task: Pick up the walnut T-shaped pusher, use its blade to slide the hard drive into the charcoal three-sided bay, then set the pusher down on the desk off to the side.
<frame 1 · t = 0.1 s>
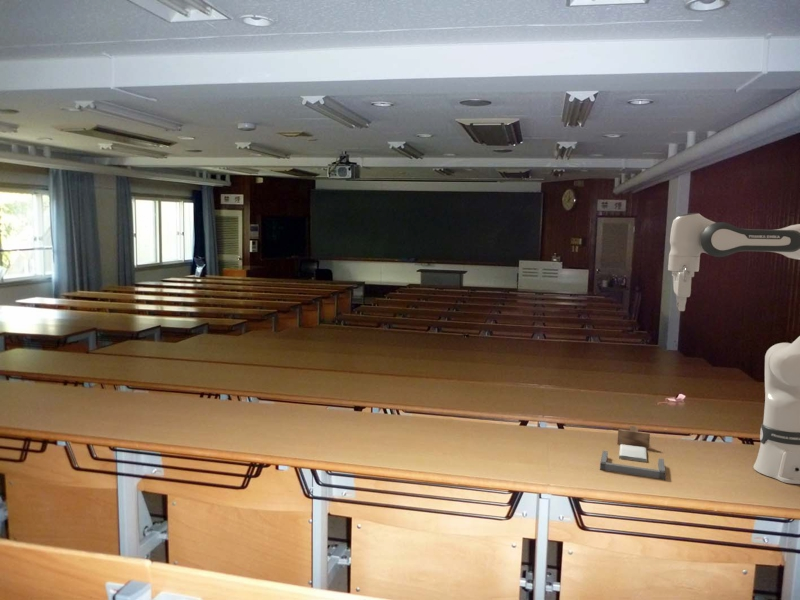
hand: (680, 309, 193), 48 cm above the table, tool pointing down, fingers open, 8 cm apart
pusher: (633, 442, 211), on the table
bay: (632, 467, 188), on the table
hard drive: (632, 456, 200), on the table
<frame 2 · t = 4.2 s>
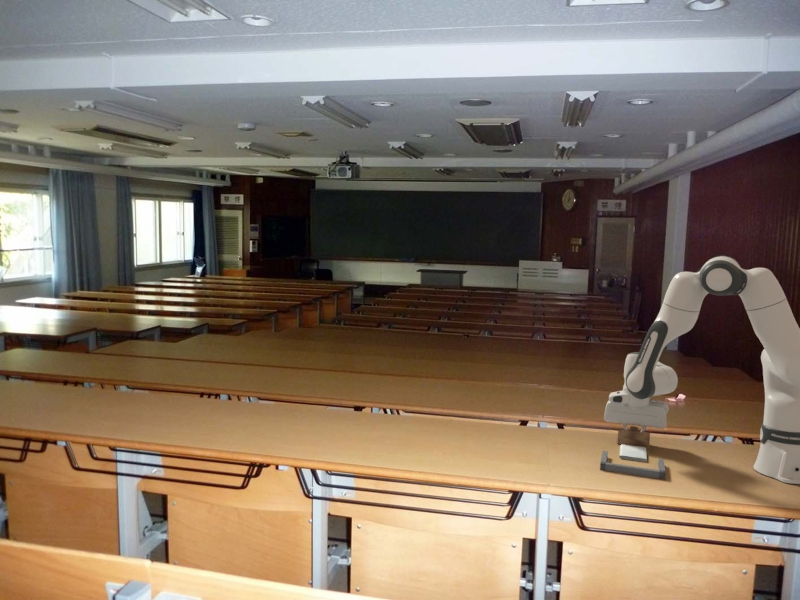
hand: (633, 437, 213), 2 cm above the table, tool pointing down, fingers closed on pusher, 2 cm apart
pusher: (633, 442, 211), on the table, touching gripper
everything else where it was.
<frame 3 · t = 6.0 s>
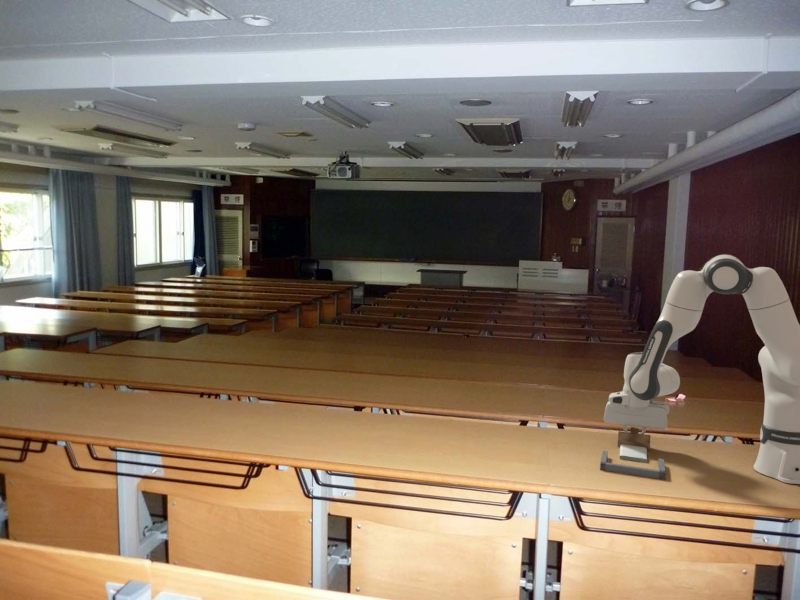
hand: (633, 438, 210), 2 cm above the table, tool pointing down, fingers closed on pusher, 2 cm apart
pusher: (633, 444, 209), on the table, touching gripper, hard drive
hard drive: (632, 456, 200), on the table, touching pusher
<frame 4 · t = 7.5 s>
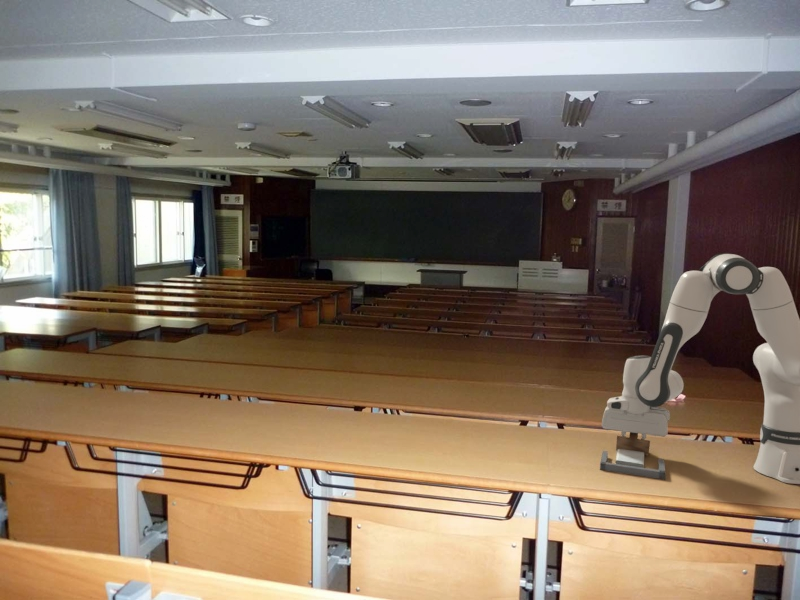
hand: (632, 445, 202), 2 cm above the table, tool pointing down, fingers closed on pusher, 2 cm apart
pusher: (632, 445, 204), point 1 cm above the table, tilted 21°, touching gripper
hard drive: (629, 461, 195), on the table
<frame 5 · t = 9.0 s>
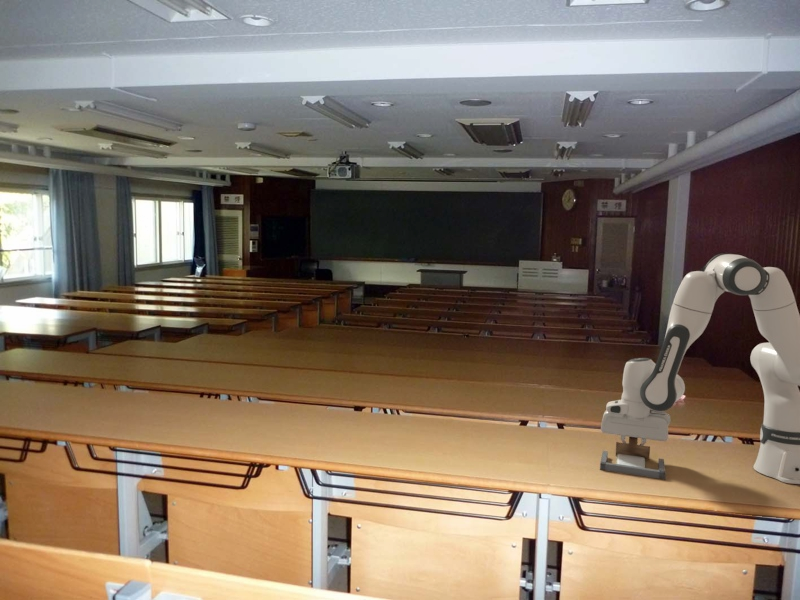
hand: (632, 450, 197), 2 cm above the table, tool pointing down, fingers closed on pusher, 2 cm apart
pusher: (632, 448, 199), point 2 cm above the table, tilted 31°, touching gripper
hard drive: (630, 467, 190), on the table
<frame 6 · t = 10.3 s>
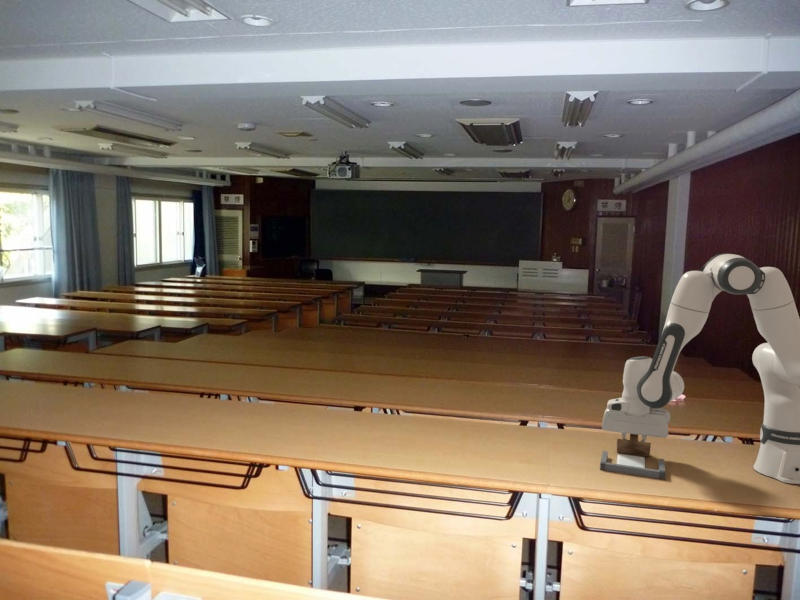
hand: (633, 447, 200), 2 cm above the table, tool pointing down, fingers closed on pusher, 2 cm apart
pusher: (633, 445, 203), point 2 cm above the table, tilted 28°, touching gripper
everything else where it was.
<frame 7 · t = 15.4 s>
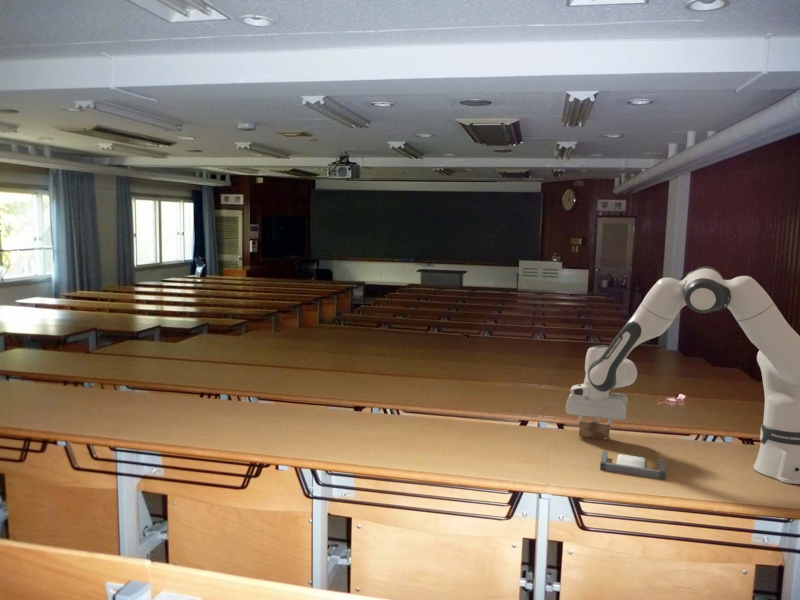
hand: (594, 428, 217), 3 cm above the table, tool pointing down, fingers closed on pusher, 6 cm apart
pusher: (594, 434, 220), on the table, touching gripper
everything else where it was.
when the fingers open (3 cm above the table, at t = 15.9 s): pusher stays where it is, on the table.
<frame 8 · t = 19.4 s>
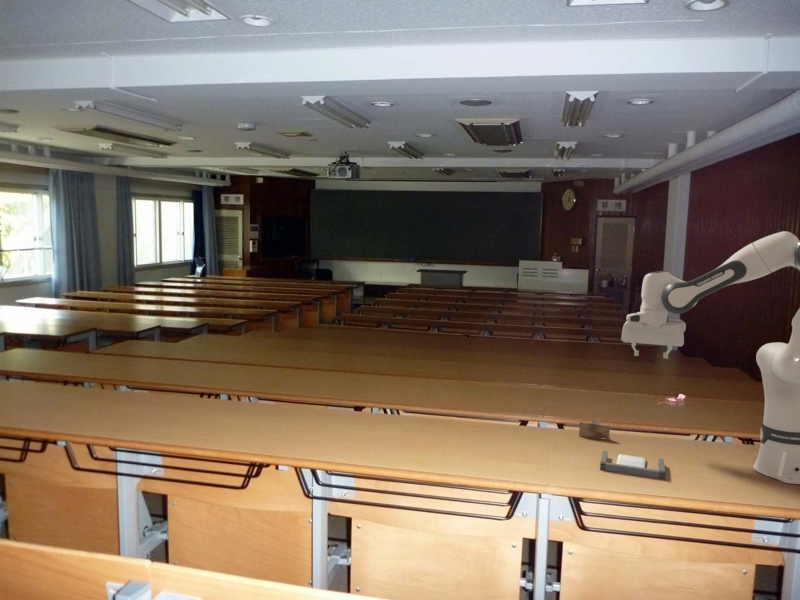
hand: (650, 356, 214), 29 cm above the table, tool pointing down, fingers open, 8 cm apart
pusher: (594, 434, 219), on the table
everything else where it was.
at the end: hard drive 1.5 cm off-centre on the bay, point -0.8 cm above the bay's base; the gripper is holding nothing; pusher inside the target area (3.5 cm from its centre), on the table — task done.
